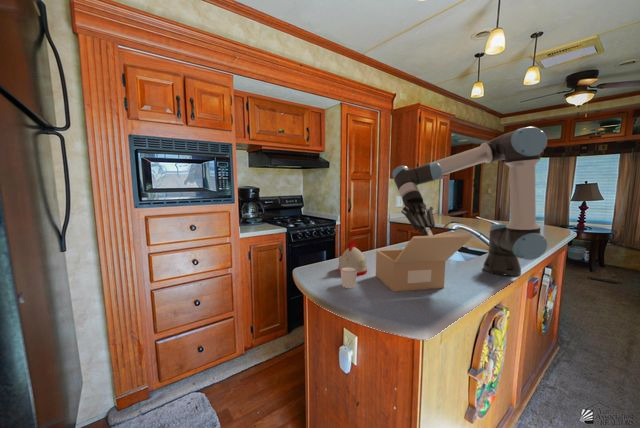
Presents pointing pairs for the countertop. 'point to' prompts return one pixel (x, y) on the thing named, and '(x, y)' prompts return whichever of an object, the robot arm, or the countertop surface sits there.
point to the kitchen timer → (353, 259)
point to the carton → (408, 272)
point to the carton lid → (432, 248)
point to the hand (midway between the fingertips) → (432, 244)
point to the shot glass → (348, 277)
